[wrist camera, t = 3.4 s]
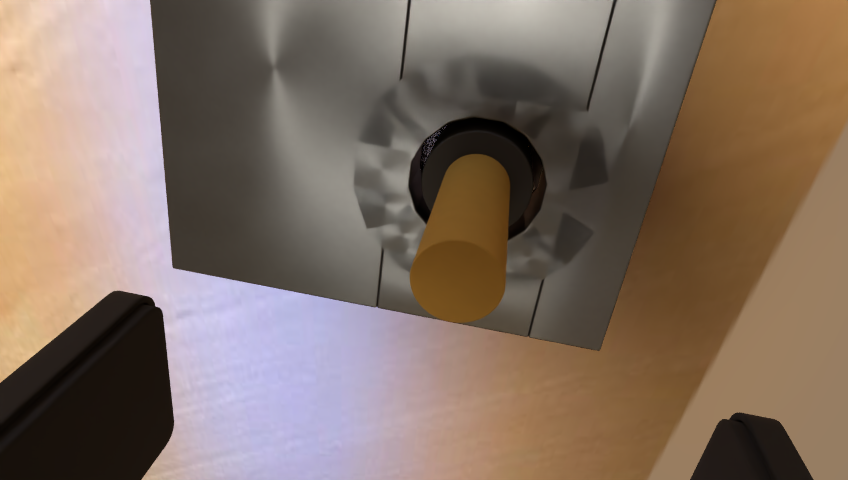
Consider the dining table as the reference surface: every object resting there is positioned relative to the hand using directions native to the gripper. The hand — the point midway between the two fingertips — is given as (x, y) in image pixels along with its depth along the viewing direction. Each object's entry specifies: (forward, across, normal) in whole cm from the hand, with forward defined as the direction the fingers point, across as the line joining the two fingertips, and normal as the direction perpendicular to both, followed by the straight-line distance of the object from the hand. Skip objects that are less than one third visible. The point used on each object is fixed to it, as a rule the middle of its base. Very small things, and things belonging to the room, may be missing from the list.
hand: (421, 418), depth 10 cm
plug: (+14, 0, 0) cm, 15 cm away
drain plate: (+14, +3, -3) cm, 15 cm away
